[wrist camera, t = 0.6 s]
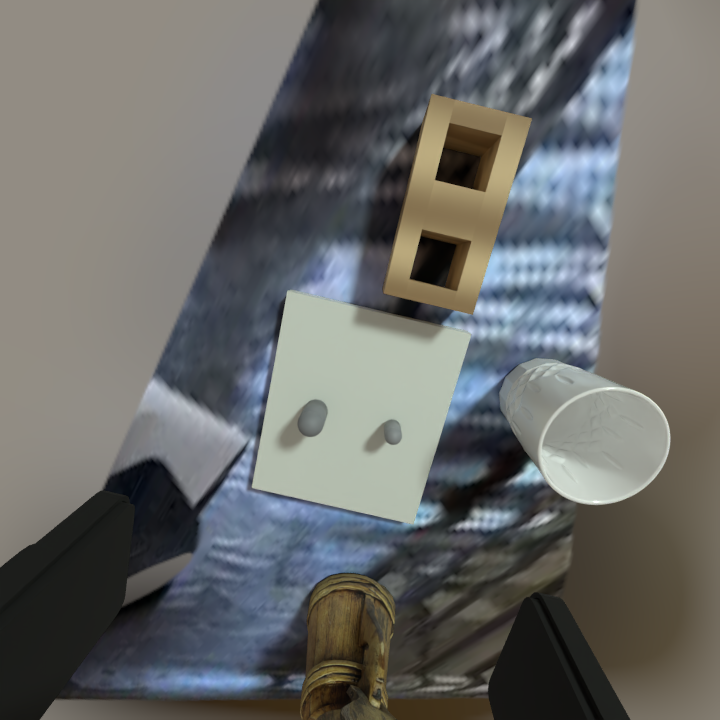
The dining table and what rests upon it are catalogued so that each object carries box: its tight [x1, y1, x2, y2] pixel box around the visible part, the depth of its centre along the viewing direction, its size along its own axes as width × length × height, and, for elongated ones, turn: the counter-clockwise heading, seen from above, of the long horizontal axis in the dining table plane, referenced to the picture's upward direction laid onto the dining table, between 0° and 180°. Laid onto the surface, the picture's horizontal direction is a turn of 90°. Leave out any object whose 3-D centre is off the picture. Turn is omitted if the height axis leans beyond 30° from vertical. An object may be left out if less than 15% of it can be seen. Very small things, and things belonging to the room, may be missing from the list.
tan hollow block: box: [382, 94, 532, 315], centre depth 28 cm, size 12×6×5 cm, turn 167°
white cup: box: [499, 358, 670, 505], centre depth 29 cm, size 8×8×10 cm
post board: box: [252, 290, 471, 524], centre depth 32 cm, size 18×15×6 cm
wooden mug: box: [300, 573, 397, 720], centre depth 30 cm, size 9×14×18 cm, turn 151°
